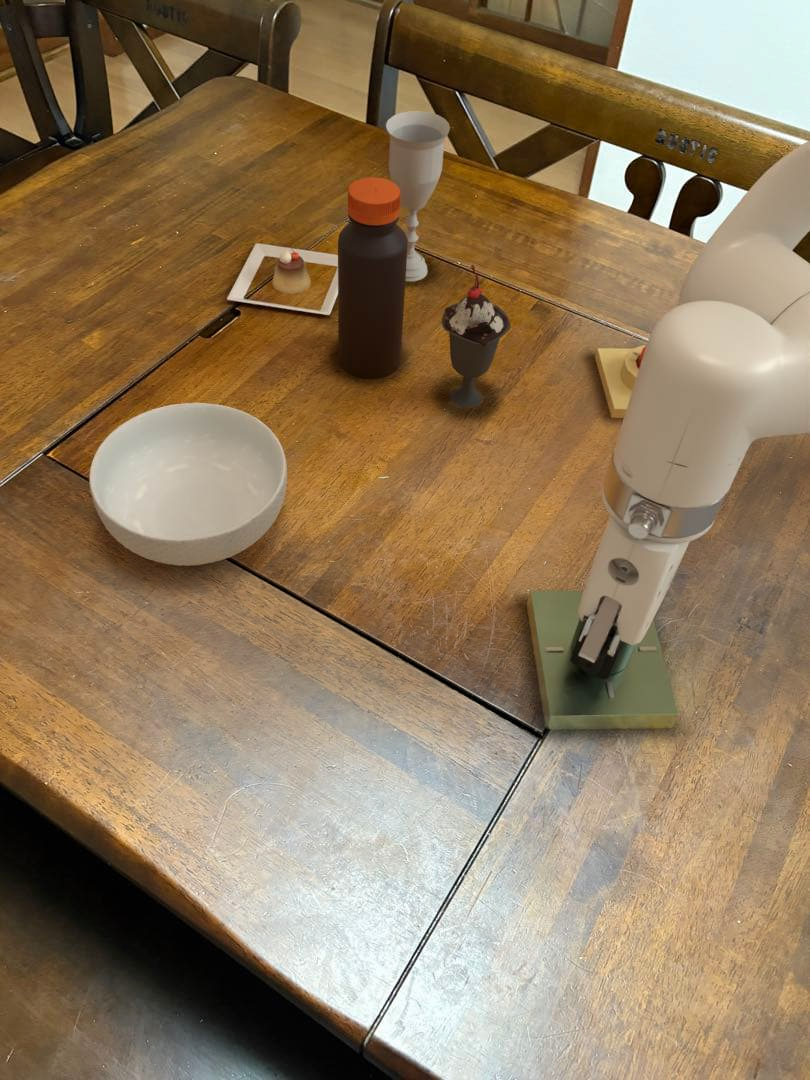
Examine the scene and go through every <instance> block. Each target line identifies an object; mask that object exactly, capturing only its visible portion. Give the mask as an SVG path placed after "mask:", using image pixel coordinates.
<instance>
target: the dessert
mask: <svg viewBox="0 0 810 1080" xmlns="http://www.w3.org/2000/svg"><path fill="white" fill-rule="evenodd" d="M265 257H271V258H277V261H276V264H275V268H274V273H273V277H272V280H271V284H272V287H273V289H275V290H276V291H278V292H280V293H282V294H286V295H287V294H288V295H295V294H300V293H303V292H306V291H307V290H308V289H310V287H311V286H312V279H311V277H310V275H309V271H308V270H307V266H306V263H311V264H317V265H325V266H331V267H337V268H336V271H335V273H334V276H333V278H332V280H331V283H330V285H329V288H328V290H327V293H326V294H325V295H326V296H325V298H324V301H323V303H322V305H321V308H320V309H319V310H318V309H312V308H307V307H301V306H294V305H286V304H280V303H279V304H278V303H273V302H266V301H259V300H253V299H248V298H247V299H246V298H245V296H246V294H247V293H248V290H249V288H250V286H251V284H252V282H253V280H254V279H255V276H256V274H257V272H258V270H259V268H260V266H261V264H262V262H263V260H264V258H265ZM337 299H338V254H334V253H327V252H320V251H313V250H306V249H300V248H292V247H291V246H289V247H287V246H279V245H272V244H266V243H258V242H256V243H255V244H254V245H253V247H252V250H251V252H250V254H249V255H248V257H247V259H246V261H245V263H244V265H243V267H242V269H241V270H240V273H239V274H238V277H237V279H236V280H235V283H234V284H233V286H232V288H231V290H230V292H229V294H228V295H227V297H226V300H227V301H231V302H239V303H243V304H244V303H246V304H252V305H257V306H258V305H259V306H265V307H271V308H278V309H286V310H290V311H297V312H298V311H299V312H305V313H311V314H317V315H324V316H330V315H331V313H332V310H333V308H334V305H335V303H336V300H337Z"/></svg>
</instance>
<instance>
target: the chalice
mask: <svg viewBox="0 0 810 1080" xmlns="http://www.w3.org/2000/svg"><path fill="white" fill-rule="evenodd" d="M385 127H386V128H385V129H386V131H387V133H388V136H389V153H388V154H389V155H388V156H389V157H388V171H389V172H388V173H389V176H390V178H391V179H390V180H391V182H394V183H395V184H396V185H397V186H398V187H399V188H400V191H401V199H400V206H402V207H403V208H404V209H405V210H408V215H407V219H406V221H405V222H404V224H405V225H406V228H407V231H406V233H405V235H406V237H407V239H408V246H407V263H406V279H405V282H416V281H422V280H423V279H424V278H426V276H427V275H428V272H429V270H428V266H427V265H428V264H427V263H426V260H425V258H424V257H423V255H422V254H421V253H419V252H418V251H416V250H415V245H416V242H417V241H418V240H419V236H418V234H417V233H416V229H417V227H418V226H419V224H420V222H419V221H418V217H417V213H418V211H420V210H422V209H423V208H424V207H426V205H427V203H428V201H429V200H430V198H431V196H432V195H433V193H434V191H435V189H436V187H437V186H438V183H439V180H440V178H441V175H442V172H443V162H444V161H443V160H444V152H445V151H444V150H445V140H446V138H447V136H448V135H449V134H450V130H451V126H450V123H449V122H448V121H447V119H446V118H444V117H442V116H441V115H439V114H436V113H433V112H429V111H425V110H424V111H423V110H408V111H403V112H399V113H397V114H394V115H392V116H391V117H390V118H388V120H387V121H386V123H385Z"/></svg>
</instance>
